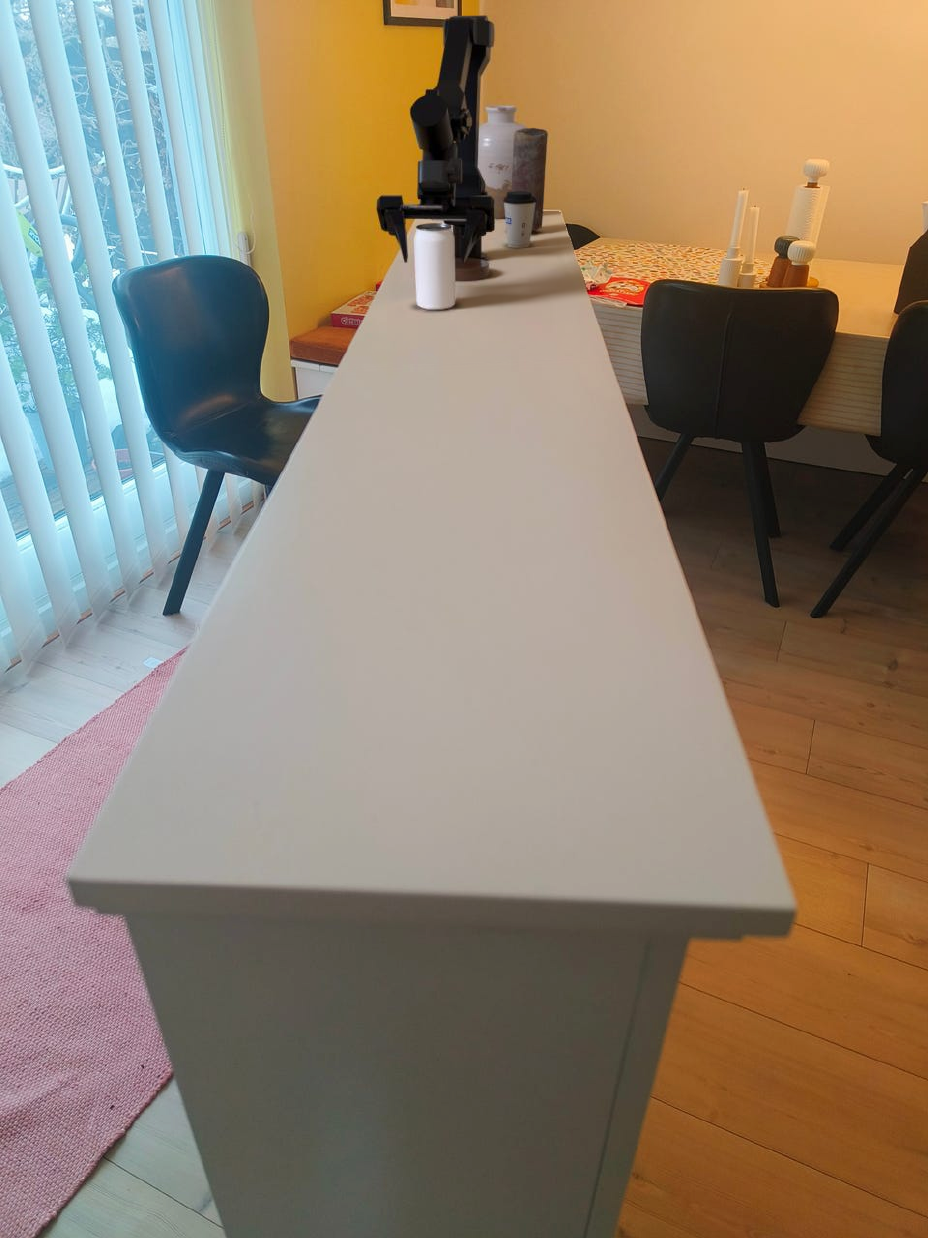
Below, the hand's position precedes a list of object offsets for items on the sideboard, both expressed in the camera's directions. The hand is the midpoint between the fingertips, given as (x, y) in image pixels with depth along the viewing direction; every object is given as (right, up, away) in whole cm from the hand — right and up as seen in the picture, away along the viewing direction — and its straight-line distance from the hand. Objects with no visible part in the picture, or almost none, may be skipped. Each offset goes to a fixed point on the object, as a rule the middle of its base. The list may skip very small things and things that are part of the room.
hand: (434, 261), depth 130 cm
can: (0, -5, +5) cm, 7 cm away
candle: (+19, +30, +54) cm, 65 cm away
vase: (+14, +43, +72) cm, 85 cm away
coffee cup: (+16, +22, +43) cm, 51 cm away
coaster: (+5, +7, +22) cm, 24 cm away
